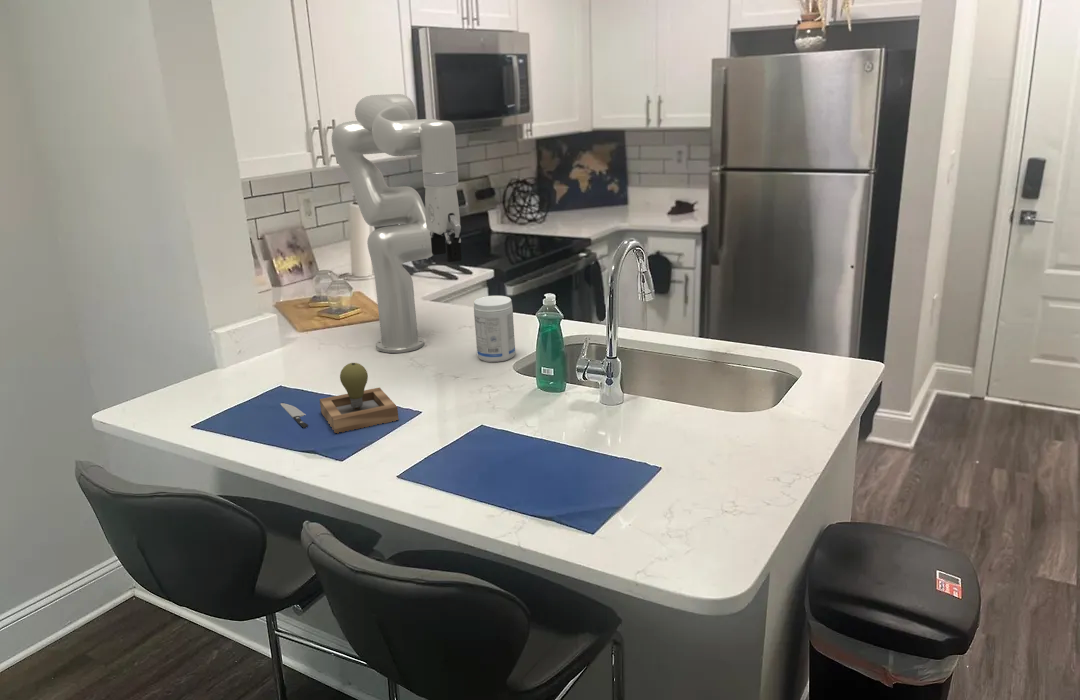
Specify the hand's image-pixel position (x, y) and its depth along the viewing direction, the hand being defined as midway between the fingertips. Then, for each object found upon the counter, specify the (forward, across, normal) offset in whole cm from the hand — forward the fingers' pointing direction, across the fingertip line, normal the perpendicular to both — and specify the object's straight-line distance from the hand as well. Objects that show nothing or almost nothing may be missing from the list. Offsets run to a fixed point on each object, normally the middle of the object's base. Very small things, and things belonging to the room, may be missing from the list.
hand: (446, 257), depth 181 cm
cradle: (+28, +12, -26) cm, 40 cm away
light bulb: (+27, +11, -26) cm, 39 cm away
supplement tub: (+28, -8, +14) cm, 33 cm away
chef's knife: (+29, +3, -37) cm, 47 cm away
